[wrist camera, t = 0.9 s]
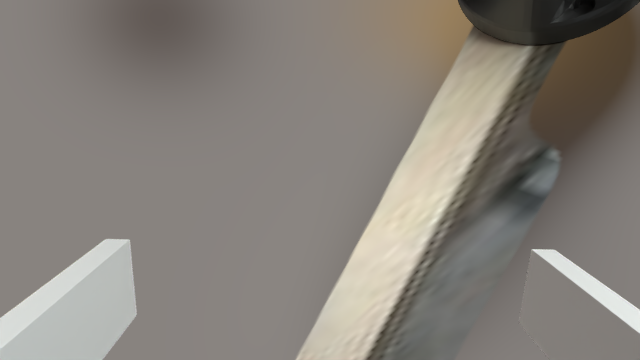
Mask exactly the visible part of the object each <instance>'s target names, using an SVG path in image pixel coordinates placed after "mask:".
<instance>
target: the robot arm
mask: <svg viewBox="0 0 640 360" xmlns="http://www.w3.org/2000/svg"><path fill="white" fill-rule="evenodd" d="M458 2H459V5H460V7H461V9H462V11H463V13H464V14H465V15H466V17H467V18H468V19H469V21H470V22H471V23H472V24H473V25H474V26H476V27H477V28H478V29H480V30H481V31H483V32H484V33H486V34H488V35H490V36H492V37H495V38H497V39H500V40H503V41H507V42H512V43H519V44H549V43H556V42H562V41H566V40H570V39H574V38H577V37H580V36H583V35H586V34H589V33H591V32H593V31H596V30H598V29H600V28H602V27H604V26H606V25H608V24H609V23H611V22H613V21H615V20H616V19H618V18H619V17H621V16H622V15H624V14H625V13H626V12H628V11H629V10H630V9H632V8H633V7H634V6H635V5H637V4H638V3H639V2H640V0H458ZM136 316H137V312H136V301H135V290H134V279H133V269H132V258H131V247H130V240H126V239H105V240H104V241H103V242H101V243H100V244H99V245H97V246H96V247H95V248H93V249H92V250H91V251H89V252H88V253H87V254H85V255H84V256H83V257H81V258H80V259H79V260H77V261H76V262H75V263H73V264H72V265H71V266H69V267H68V268H67V269H65V270H64V271H62V272H61V273H60V274H58V275H57V276H56V277H54V278H53V279H52V280H50V281H49V282H48V283H46V284H45V285H44V286H42V287H41V288H40V289H38V290H37V291H36V292H34V293H33V294H32V295H30V296H29V297H28V298H26V299H25V300H24V301H22V302H21V303H20V304H18V305H17V306H16V307H14V308H13V309H12V310H10V311H9V312H8V313H6V314H5V315H4V316H3V317H1V318H0V360H103V359H104V357H105V356H106V355H107V353H108V352H109V350H110V349H111V348H112V347H113V345H114V344H115V343H116V342H117V340H118V339H119V338H120V336H121V335H122V334H123V332H124V331H125V330H126V328H127V327H128V326H129V325H130V323H131V322H132V321H133V319H134V318H135V317H136ZM519 324H520V325H521V326H522V327H523V329H524V330H525V331H526V332H527V333H528V335H529V336H530V337H531V338H532V340H533V341H534V342H535V343H536V344H537V346H538V347H539V348H540V349H541V350H542V351H543V353H544V354H545V355H546V356H547V357H548V359H549V360H640V310H639V309H637V308H636V307H635V306H633V305H632V304H631V303H629V302H628V301H626V300H625V299H623V298H622V297H620V296H619V295H618V294H616V293H615V292H614V291H612V290H611V289H609V288H608V287H606V286H605V285H604V284H602V283H601V282H599V281H598V280H597V279H595V278H594V277H592V276H591V275H589V274H588V273H587V272H585V271H584V270H582V269H581V268H580V267H578V266H577V265H575V264H574V263H572V262H571V261H570V260H568V259H567V258H565V257H564V256H562V255H561V254H559V253H558V252H557V251H555V250H541V249H532V250H531V255H530V261H529V267H528V272H527V278H526V284H525V289H524V295H523V301H522V307H521V312H520V319H519Z"/></svg>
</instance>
